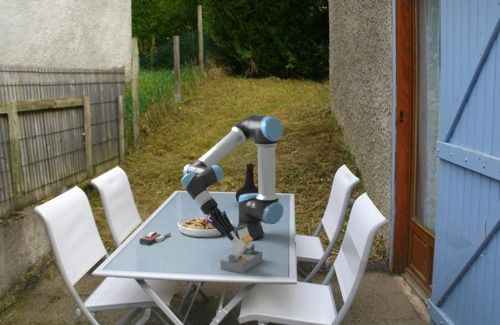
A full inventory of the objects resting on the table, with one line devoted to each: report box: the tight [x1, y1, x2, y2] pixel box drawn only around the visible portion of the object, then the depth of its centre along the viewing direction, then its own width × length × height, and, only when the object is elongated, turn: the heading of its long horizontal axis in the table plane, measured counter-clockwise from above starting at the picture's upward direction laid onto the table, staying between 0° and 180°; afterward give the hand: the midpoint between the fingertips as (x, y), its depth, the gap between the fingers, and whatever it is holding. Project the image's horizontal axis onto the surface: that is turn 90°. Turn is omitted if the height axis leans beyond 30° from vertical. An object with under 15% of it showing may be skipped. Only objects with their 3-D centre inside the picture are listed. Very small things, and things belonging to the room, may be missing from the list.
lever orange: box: [231, 235, 254, 259], centre depth 231 cm, size 3×5×12 cm
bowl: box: [177, 215, 233, 238], centre depth 292 cm, size 30×30×8 cm
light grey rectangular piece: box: [235, 224, 253, 251], centre depth 243 cm, size 3×5×12 cm, turn 153°
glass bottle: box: [235, 163, 258, 203], centre depth 351 cm, size 18×18×28 cm
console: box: [220, 243, 263, 274], centre depth 238 cm, size 11×19×7 cm, turn 152°
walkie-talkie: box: [139, 231, 171, 246], centre depth 274 cm, size 9×4×20 cm
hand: (238, 245), depth 231 cm, fingers closed
